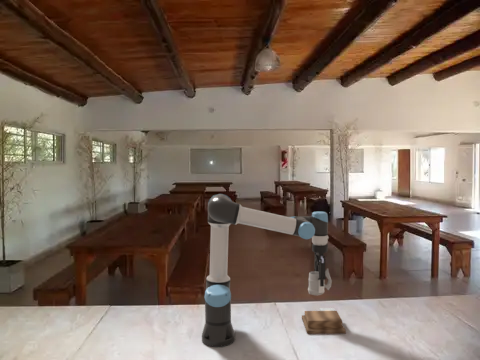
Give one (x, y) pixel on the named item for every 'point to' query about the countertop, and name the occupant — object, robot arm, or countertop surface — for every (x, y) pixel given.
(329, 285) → the mug
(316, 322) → the plinth
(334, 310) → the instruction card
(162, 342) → the countertop surface
